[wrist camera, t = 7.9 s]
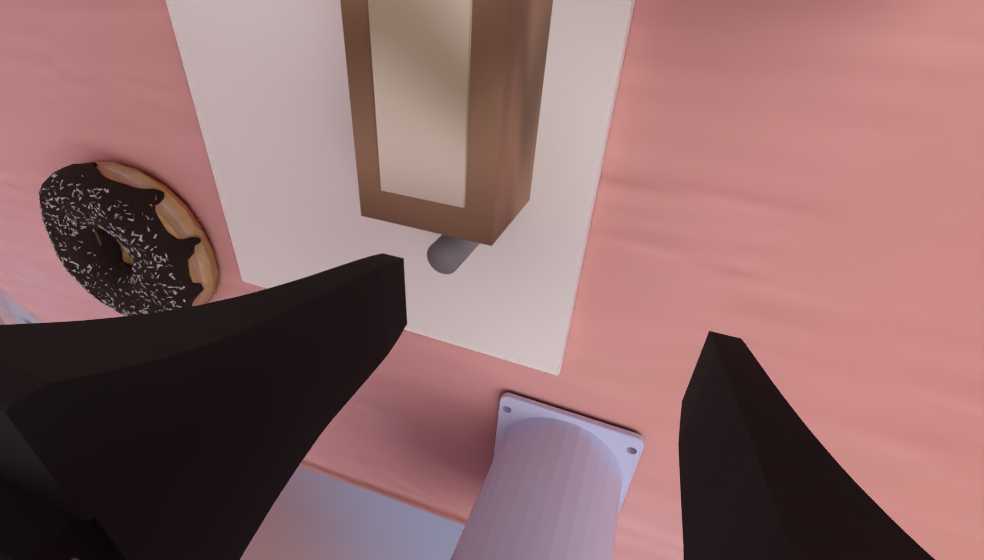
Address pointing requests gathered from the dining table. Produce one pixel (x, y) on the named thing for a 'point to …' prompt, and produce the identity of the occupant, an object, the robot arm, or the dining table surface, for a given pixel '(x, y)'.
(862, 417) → the dining table surface
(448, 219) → the brown rectangular box
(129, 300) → the donut
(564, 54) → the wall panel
